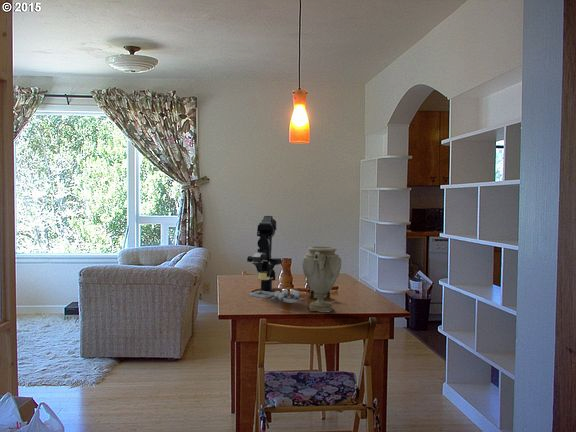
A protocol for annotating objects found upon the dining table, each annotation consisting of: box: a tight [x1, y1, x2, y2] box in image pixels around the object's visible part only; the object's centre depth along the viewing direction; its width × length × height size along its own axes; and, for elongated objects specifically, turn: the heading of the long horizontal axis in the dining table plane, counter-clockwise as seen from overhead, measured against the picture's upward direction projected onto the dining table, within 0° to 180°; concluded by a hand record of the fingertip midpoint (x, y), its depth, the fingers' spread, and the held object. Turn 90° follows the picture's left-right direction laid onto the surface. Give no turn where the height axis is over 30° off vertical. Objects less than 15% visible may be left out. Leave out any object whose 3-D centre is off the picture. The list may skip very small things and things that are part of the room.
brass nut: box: [258, 271, 270, 281], centre depth 294 cm, size 6×5×4 cm
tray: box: [248, 290, 275, 299], centre depth 294 cm, size 10×10×2 cm
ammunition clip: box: [309, 288, 331, 300], centre depth 291 cm, size 11×2×12 cm, turn 103°
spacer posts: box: [273, 288, 300, 302], centre depth 286 cm, size 14×10×4 cm
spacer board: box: [267, 295, 305, 304], centre depth 286 cm, size 14×14×1 cm
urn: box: [302, 246, 342, 312], centre depth 266 cm, size 24×18×30 cm
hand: (264, 276), depth 294 cm, fingers closed on brass nut, 5 cm apart
